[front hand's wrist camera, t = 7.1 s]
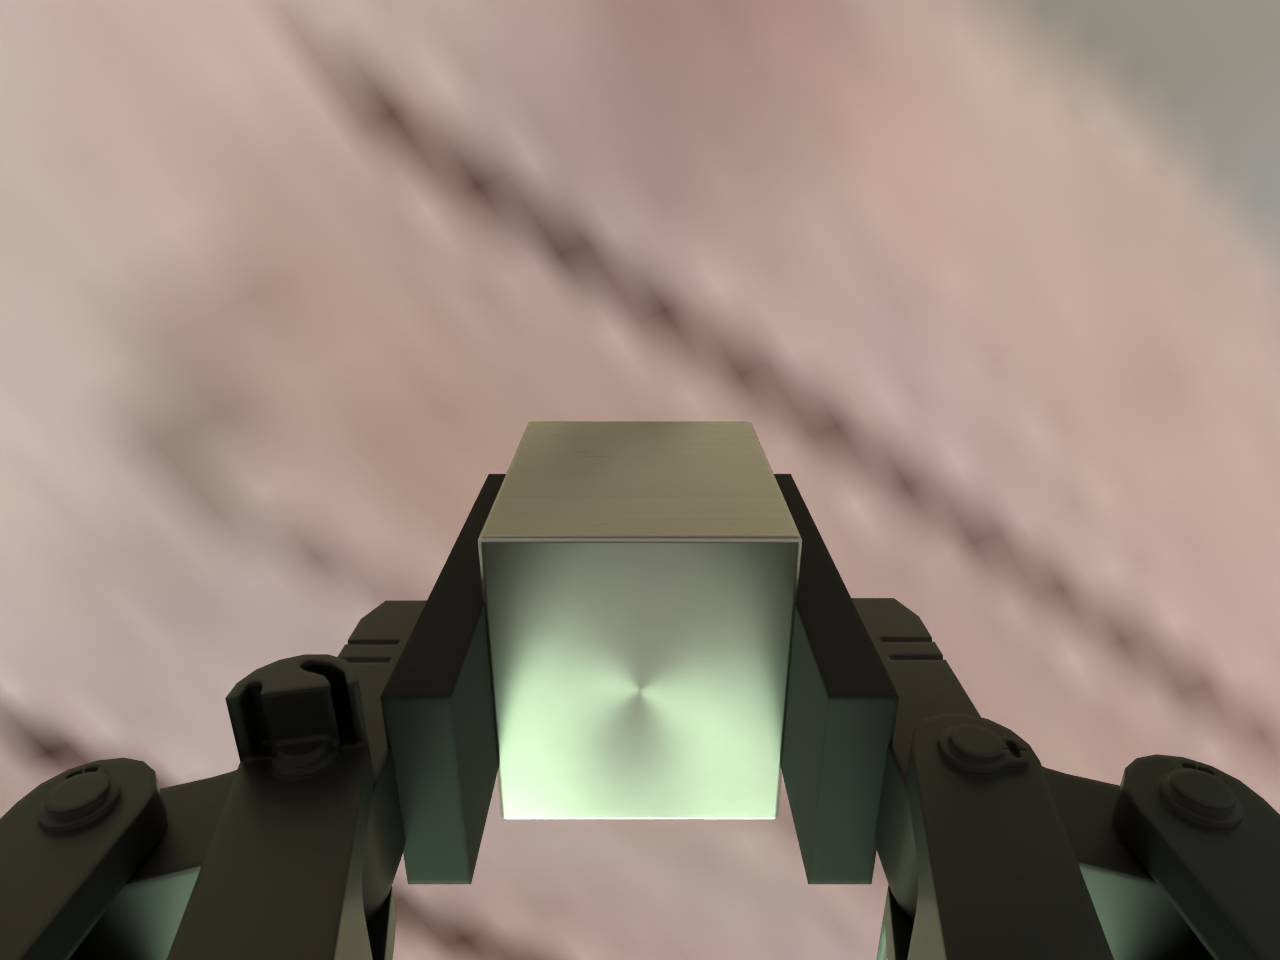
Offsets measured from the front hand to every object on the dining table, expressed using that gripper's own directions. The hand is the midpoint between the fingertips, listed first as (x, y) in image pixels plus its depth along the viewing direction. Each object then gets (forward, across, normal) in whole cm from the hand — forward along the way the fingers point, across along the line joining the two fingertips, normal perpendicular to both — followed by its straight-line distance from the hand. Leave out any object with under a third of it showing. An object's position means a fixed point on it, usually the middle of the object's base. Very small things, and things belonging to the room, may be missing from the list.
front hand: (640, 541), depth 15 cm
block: (0, 0, 0) cm, 0 cm away
